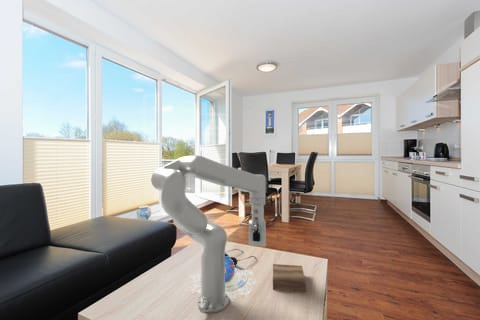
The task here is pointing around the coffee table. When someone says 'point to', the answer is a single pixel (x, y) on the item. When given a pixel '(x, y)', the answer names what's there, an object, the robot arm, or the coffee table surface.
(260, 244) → the small box
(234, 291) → the coffee table surface
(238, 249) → the sunglasses
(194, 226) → the robot arm
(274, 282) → the walnut block
